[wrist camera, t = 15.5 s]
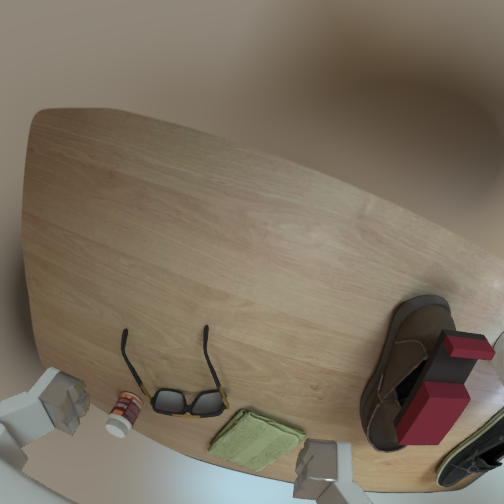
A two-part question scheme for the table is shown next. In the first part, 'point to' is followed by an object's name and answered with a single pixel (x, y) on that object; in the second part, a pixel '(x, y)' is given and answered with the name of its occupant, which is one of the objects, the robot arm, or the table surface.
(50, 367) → the robot arm
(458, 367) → the red and black block
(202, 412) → the sunglasses
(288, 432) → the washcloth
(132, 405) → the pill bottle
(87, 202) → the table surface
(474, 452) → the boat shoe
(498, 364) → the jar
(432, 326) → the loafer
